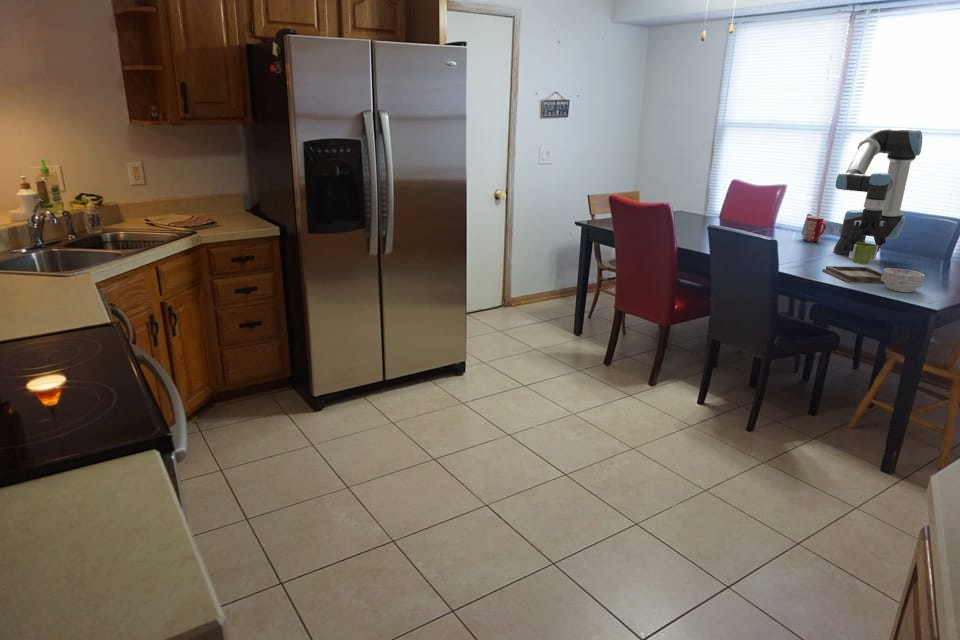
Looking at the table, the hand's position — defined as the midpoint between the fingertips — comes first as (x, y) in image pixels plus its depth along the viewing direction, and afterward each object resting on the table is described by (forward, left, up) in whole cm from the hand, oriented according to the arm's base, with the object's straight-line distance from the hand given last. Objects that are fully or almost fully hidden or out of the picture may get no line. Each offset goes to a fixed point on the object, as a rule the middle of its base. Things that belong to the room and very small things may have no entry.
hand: (861, 258), depth 287 cm
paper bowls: (-6, +20, -9) cm, 23 cm away
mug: (-23, -80, -9) cm, 84 cm away
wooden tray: (0, 0, -9) cm, 9 cm away
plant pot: (0, 0, -2) cm, 2 cm away
